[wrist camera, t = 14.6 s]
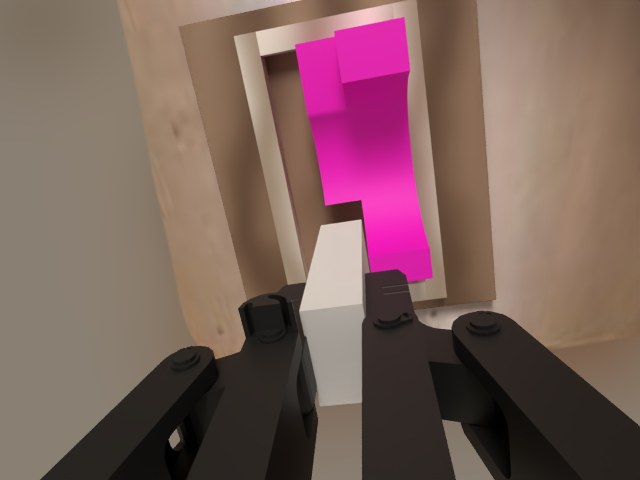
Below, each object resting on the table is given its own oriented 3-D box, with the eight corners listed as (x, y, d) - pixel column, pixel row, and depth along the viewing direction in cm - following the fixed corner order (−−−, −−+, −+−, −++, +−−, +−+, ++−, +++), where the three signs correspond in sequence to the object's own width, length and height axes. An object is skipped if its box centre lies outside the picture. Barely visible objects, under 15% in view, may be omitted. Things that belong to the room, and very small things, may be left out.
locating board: (469, -33, 31) (479, -43, 28) (491, 293, 38) (501, 308, 36) (184, 28, 33) (170, 24, 31) (257, 322, 41) (250, 338, 38)
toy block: (302, 49, 32) (288, 40, 25) (393, 31, 31) (404, 16, 24) (338, 250, 37) (334, 291, 30) (417, 239, 36) (433, 278, 29)
